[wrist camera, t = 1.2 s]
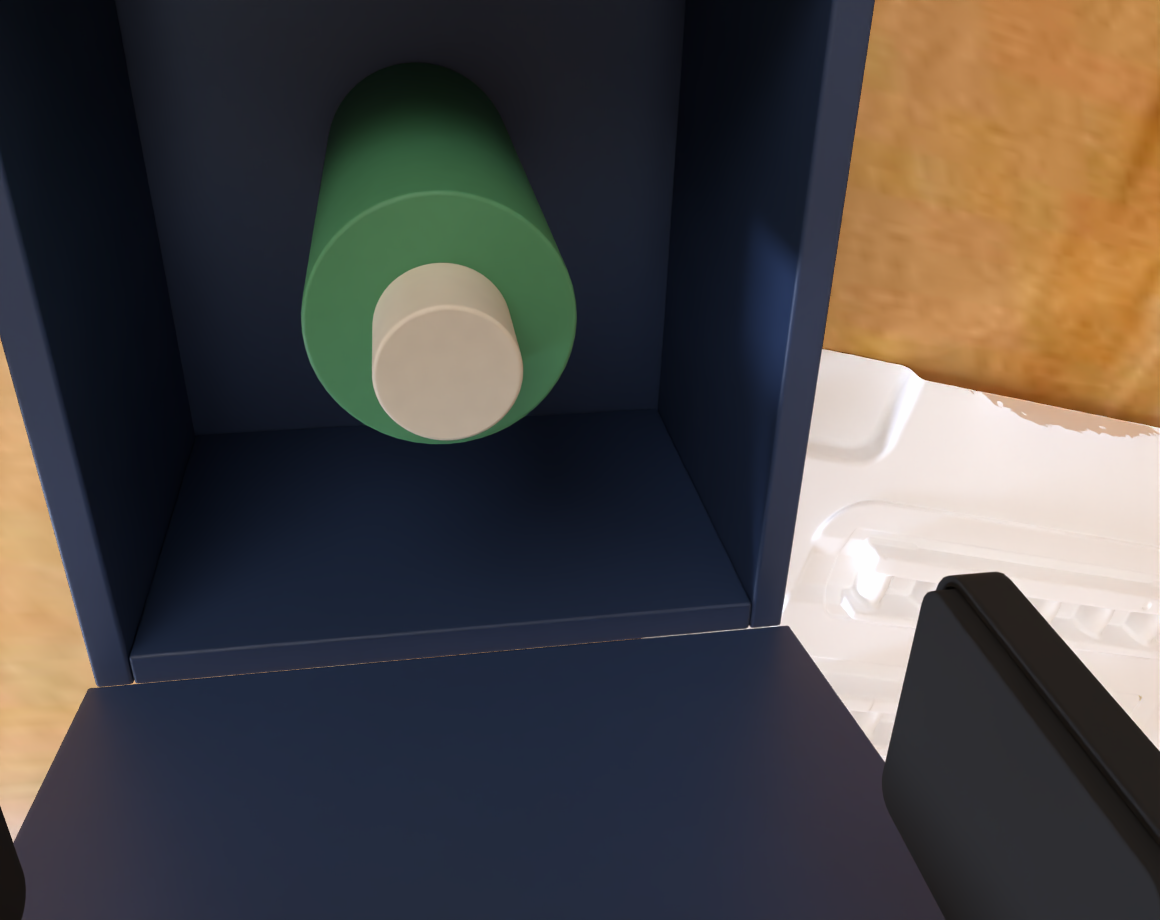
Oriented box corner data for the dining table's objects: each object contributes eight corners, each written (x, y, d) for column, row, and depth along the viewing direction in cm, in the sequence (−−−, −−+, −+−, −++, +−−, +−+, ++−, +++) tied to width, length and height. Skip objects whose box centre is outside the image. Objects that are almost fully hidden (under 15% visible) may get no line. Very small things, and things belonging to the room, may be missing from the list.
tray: (1134, 831, 50) (1182, 897, 47) (568, 773, 44) (580, 846, 40) (1398, 464, 41) (1481, 515, 38) (731, 318, 34) (763, 366, 31)
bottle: (318, 62, 27) (275, 234, 15) (508, 61, 27) (602, 225, 16) (336, 245, 29) (309, 513, 18) (510, 240, 30) (593, 493, 18)
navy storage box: (60, -145, 24) (-132, -131, 15) (716, -130, 27) (894, -110, 18) (175, 445, 32) (96, 689, 23) (674, 416, 35) (781, 627, 25)
